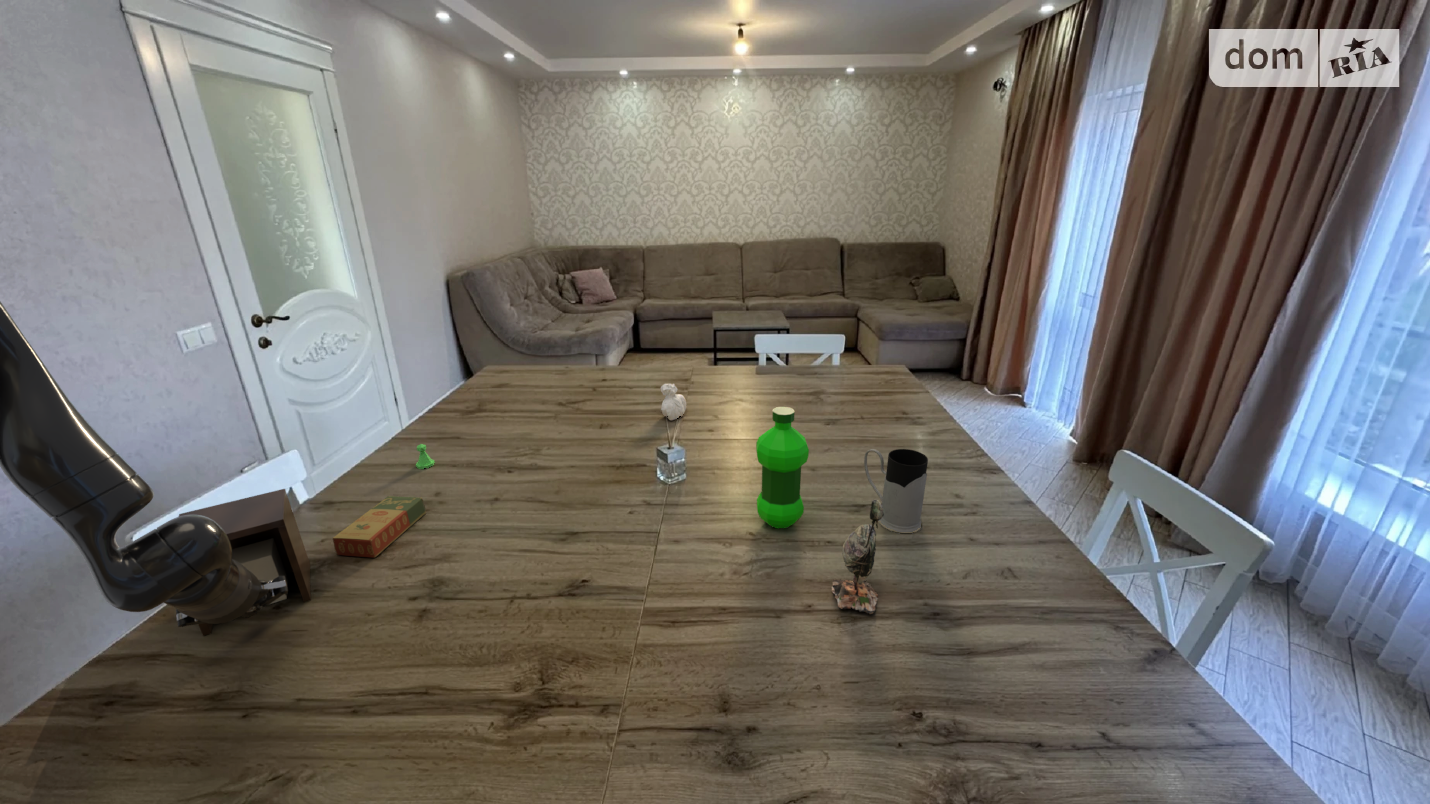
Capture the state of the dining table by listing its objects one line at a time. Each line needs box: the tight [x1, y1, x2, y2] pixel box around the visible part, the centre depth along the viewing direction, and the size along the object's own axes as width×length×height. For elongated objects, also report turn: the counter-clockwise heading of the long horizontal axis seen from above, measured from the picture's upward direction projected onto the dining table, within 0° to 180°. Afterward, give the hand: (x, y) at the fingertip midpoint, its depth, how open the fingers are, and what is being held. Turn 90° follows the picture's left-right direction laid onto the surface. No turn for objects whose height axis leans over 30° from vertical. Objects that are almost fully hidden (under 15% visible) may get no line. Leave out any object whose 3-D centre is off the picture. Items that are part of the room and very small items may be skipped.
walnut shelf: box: [177, 488, 312, 637], centre depth 92 cm, size 14×12×16 cm
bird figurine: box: [831, 498, 884, 615], centre depth 91 cm, size 8×11×20 cm
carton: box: [332, 495, 427, 558], centre depth 111 cm, size 8×16×4 cm, turn 173°
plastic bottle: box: [755, 406, 810, 529], centre depth 110 cm, size 10×10×25 cm
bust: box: [660, 382, 687, 421], centre depth 168 cm, size 12×8×11 cm
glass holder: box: [863, 448, 929, 532], centre depth 114 cm, size 9×14×15 cm, turn 39°
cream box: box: [232, 538, 289, 608], centre depth 93 cm, size 6×6×9 cm
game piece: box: [415, 443, 436, 470], centre depth 139 cm, size 4×4×6 cm
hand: (250, 609), depth 86 cm, fingers closed
